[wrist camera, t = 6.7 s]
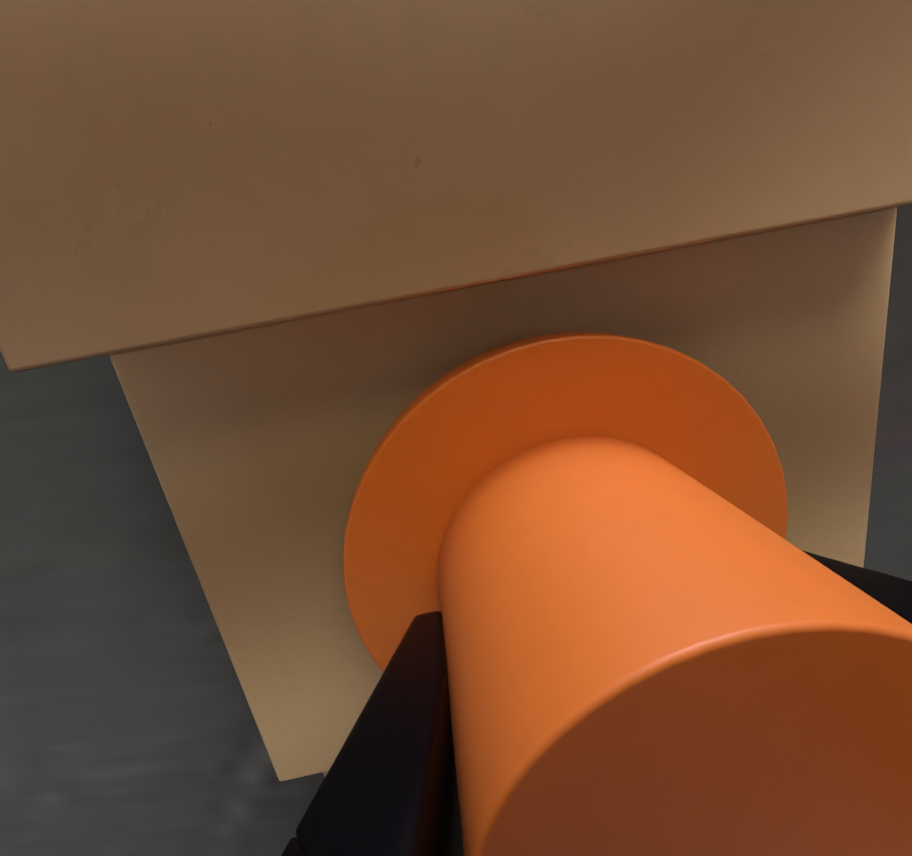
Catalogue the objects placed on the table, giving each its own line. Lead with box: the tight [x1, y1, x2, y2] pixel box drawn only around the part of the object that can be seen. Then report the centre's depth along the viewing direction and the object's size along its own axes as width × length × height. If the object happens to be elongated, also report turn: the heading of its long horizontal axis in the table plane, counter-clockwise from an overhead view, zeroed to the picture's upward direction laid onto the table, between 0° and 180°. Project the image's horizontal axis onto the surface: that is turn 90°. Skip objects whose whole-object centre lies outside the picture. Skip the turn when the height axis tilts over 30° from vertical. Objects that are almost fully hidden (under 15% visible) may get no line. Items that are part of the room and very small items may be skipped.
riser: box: [0, 0, 912, 781], centre depth 10 cm, size 18×14×6 cm
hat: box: [342, 332, 912, 856], centre depth 6 cm, size 8×8×5 cm
